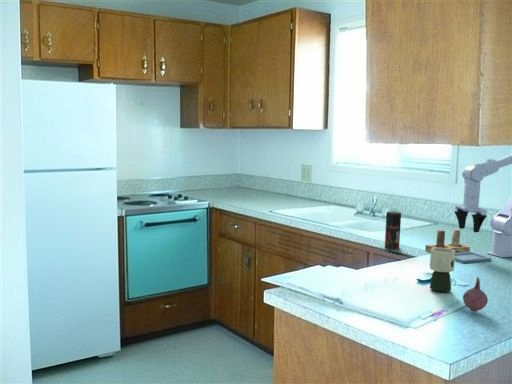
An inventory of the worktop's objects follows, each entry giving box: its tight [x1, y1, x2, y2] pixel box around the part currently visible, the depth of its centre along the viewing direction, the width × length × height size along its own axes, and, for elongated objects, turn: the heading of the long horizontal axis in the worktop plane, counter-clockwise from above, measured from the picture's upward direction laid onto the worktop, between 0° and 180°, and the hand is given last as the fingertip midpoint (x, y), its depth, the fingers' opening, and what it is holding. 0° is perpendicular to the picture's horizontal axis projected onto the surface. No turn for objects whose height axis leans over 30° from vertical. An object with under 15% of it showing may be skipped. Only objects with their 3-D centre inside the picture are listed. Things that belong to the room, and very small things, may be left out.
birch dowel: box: [451, 228, 461, 247], centre depth 221 cm, size 3×3×9 cm
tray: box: [455, 251, 492, 264], centre depth 209 cm, size 14×10×1 cm
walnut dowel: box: [435, 229, 446, 248], centre depth 218 cm, size 3×3×9 cm
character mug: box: [429, 247, 456, 293], centre depth 165 cm, size 11×7×13 cm, turn 167°
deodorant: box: [384, 211, 402, 250], centre depth 224 cm, size 6×6×15 cm
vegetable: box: [462, 276, 488, 313], centre depth 146 cm, size 6×6×10 cm
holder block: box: [424, 242, 471, 254], centre depth 220 cm, size 16×8×2 cm, turn 113°
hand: (469, 230), depth 213 cm, fingers open, 7 cm apart
